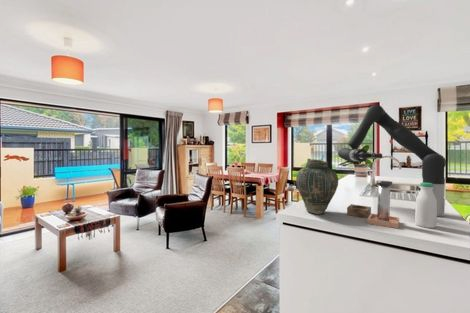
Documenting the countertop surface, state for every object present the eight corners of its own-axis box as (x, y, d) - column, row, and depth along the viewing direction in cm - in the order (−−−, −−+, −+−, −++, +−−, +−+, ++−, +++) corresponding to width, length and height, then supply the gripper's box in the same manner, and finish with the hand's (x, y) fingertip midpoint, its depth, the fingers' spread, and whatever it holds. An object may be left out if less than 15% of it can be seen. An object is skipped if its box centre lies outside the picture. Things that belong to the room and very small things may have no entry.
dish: (399, 222, 115) (399, 217, 115) (397, 228, 105) (398, 223, 105) (370, 217, 122) (371, 213, 122) (367, 223, 112) (367, 218, 112)
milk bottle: (437, 229, 104) (439, 184, 104) (416, 226, 108) (417, 183, 108) (434, 225, 111) (436, 182, 110) (414, 222, 115) (415, 181, 114)
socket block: (370, 214, 129) (371, 206, 129) (368, 218, 121) (368, 210, 121) (350, 211, 135) (351, 204, 135) (347, 214, 127) (347, 207, 127)
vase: (289, 213, 129) (290, 158, 128) (302, 205, 147) (303, 157, 147) (333, 220, 117) (334, 160, 116) (341, 211, 135) (342, 158, 134)
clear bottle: (391, 220, 114) (392, 181, 114) (390, 224, 109) (391, 182, 109) (376, 218, 118) (377, 180, 118) (374, 221, 113) (375, 181, 112)
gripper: (346, 148, 143) (359, 148, 127) (370, 149, 142) (386, 148, 126) (346, 161, 143) (359, 162, 127) (370, 161, 142) (386, 162, 126)
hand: (373, 155), depth 126 cm, fingers open, 8 cm apart
